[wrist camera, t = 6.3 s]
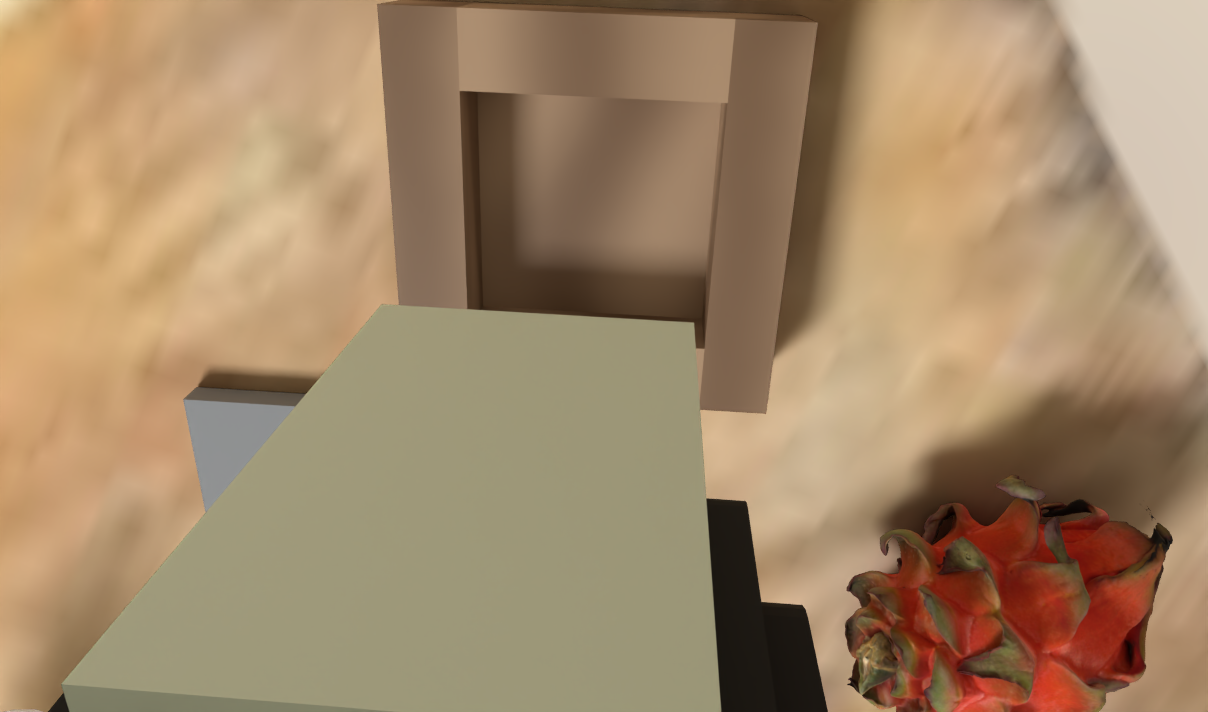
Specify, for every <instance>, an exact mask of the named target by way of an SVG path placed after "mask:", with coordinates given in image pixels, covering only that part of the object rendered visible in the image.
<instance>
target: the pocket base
mask: <svg viewBox="0 0 1208 712" xmlns="http://www.w3.org/2000/svg"><path fill="white" fill-rule="evenodd" d="M377 7H378V21H379V35H380V49H381V63H382V77H383V91H384V105H385V118H386V132H387V146H388V160H389V174H390V188H391V202H392V215H393V229H394V243H395V257H396V271H397V285H398V299H399V305H404V306H421V307H438V308H454V309H471V310H488V311H505V312H522V313H539V314H556V315H573V316H590V317H607V318H623V319H640V320H657V321H674V322H691V323H694V330H695V344H696V359H697V373H698V387H699V401H700V410H714V411H730V412H747V413H763V414H766V410H767V403H768V395H769V388H770V380H771V373H772V365H773V357H774V350H775V342H776V335H777V327H778V320H779V312H780V305H781V297H782V289H783V282H784V274H785V267H786V259H787V252H788V244H789V237H790V229H791V221H792V214H793V206H794V199H795V191H796V184H797V176H798V169H799V161H800V153H801V146H802V138H803V131H804V123H805V116H806V108H807V101H808V93H809V85H810V78H811V70H812V63H813V55H814V48H815V40H816V33H817V25H818V23H817V22H815V21H813V20H811V19H809V18H806V17H804V16H802V15H780V14H756V13H732V12H708V11H684V10H660V9H636V8H612V7H588V6H564V5H540V4H516V3H492V2H468V1H444V0H398V1H393V2H387V3H381V4H377Z"/></svg>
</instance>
